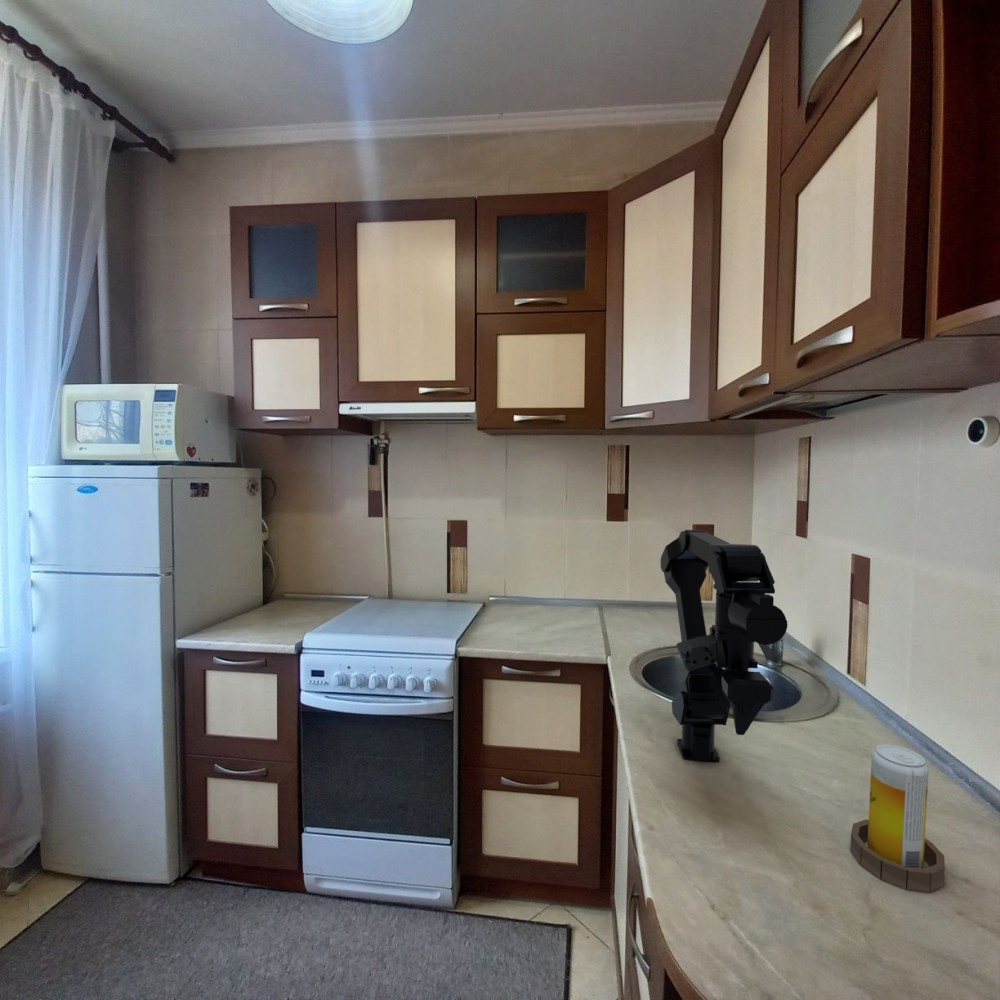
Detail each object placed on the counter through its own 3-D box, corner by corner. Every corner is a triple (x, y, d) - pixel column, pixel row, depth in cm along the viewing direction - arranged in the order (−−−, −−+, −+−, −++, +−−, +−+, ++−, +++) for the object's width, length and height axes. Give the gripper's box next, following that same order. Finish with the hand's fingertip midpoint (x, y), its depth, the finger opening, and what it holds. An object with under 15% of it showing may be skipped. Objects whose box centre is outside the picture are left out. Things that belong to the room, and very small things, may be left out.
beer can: (893, 843, 75) (898, 741, 75) (935, 876, 70) (941, 764, 69) (856, 848, 74) (861, 744, 74) (895, 881, 68) (901, 769, 68)
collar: (837, 833, 78) (838, 816, 77) (913, 840, 76) (914, 824, 76) (874, 886, 68) (875, 867, 68) (962, 896, 66) (964, 877, 66)
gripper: (671, 606, 94) (669, 692, 95) (693, 639, 76) (690, 746, 77) (738, 609, 93) (735, 696, 93) (776, 644, 74) (772, 752, 75)
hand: (731, 720), depth 85 cm, fingers open, 9 cm apart
